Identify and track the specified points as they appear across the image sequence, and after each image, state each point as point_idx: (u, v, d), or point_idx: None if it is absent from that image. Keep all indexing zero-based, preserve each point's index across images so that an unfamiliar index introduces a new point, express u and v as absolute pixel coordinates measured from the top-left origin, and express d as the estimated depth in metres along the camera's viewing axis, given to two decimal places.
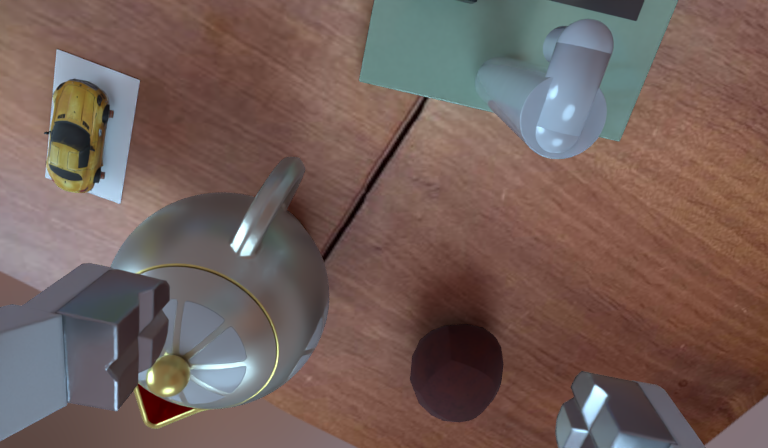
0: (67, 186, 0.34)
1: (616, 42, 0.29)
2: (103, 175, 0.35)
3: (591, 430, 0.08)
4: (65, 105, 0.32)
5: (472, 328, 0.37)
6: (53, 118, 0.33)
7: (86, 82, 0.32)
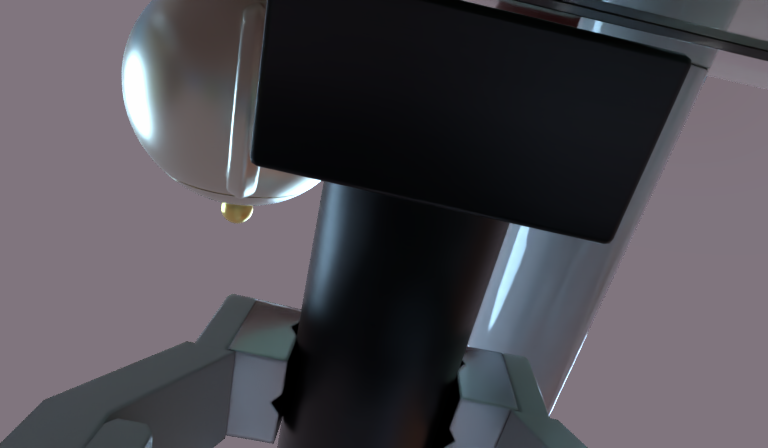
0: None
1: None
2: None
3: None
4: None
5: None
6: None
7: None
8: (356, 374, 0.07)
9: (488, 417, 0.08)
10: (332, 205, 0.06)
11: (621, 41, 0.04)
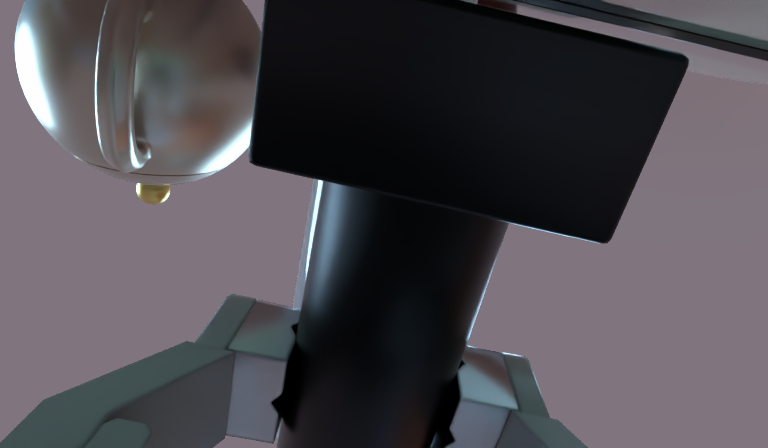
0: None
1: (765, 72, 0.08)
2: None
3: (447, 399, 0.08)
4: None
5: None
6: None
7: None
8: (355, 374, 0.07)
9: (488, 418, 0.08)
10: (331, 204, 0.06)
11: (618, 40, 0.04)
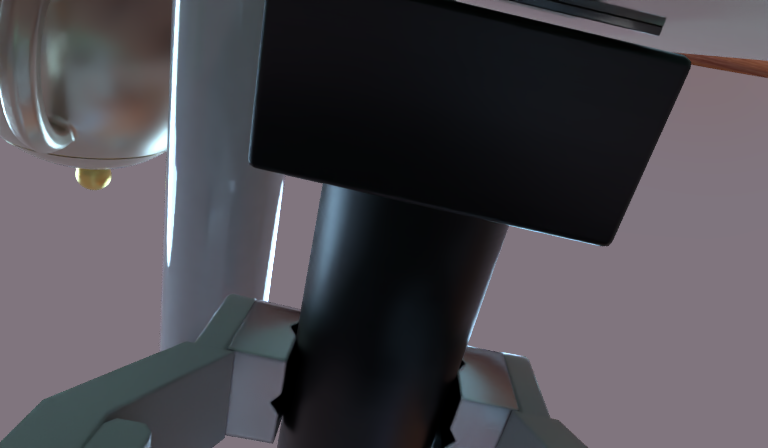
0: None
1: (539, 19, 0.08)
2: None
3: None
4: None
5: None
6: None
7: None
8: (355, 375, 0.07)
9: (488, 418, 0.08)
10: (331, 206, 0.06)
11: (620, 43, 0.04)
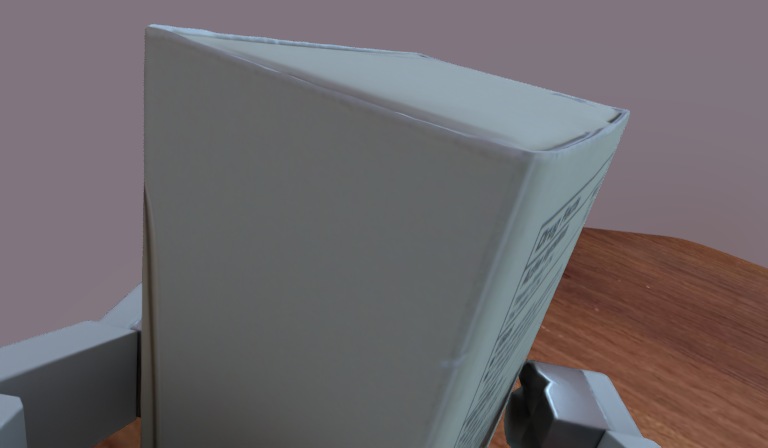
0: None
1: None
2: None
3: (532, 417, 0.08)
4: None
5: None
6: None
7: None
8: None
9: (579, 436, 0.08)
10: None
11: None
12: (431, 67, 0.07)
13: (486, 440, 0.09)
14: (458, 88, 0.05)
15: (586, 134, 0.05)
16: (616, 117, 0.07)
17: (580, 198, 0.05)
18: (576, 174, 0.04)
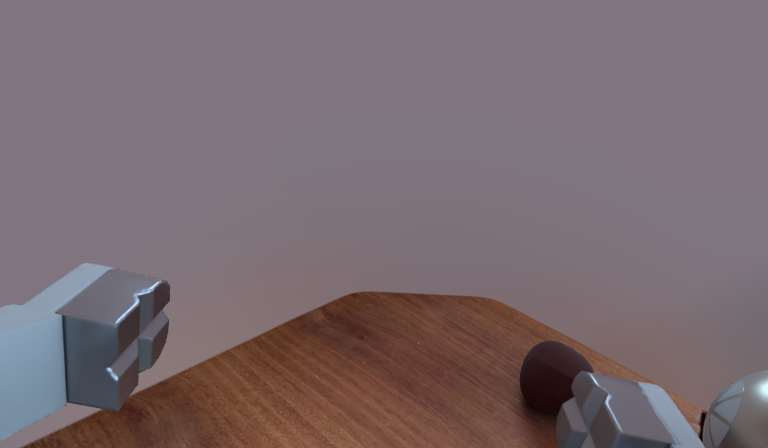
0: None
1: None
2: None
3: (591, 430, 0.08)
4: None
5: (553, 406, 0.43)
6: None
7: None
8: None
9: None
10: None
11: None
12: None
13: None
14: None
15: None
16: None
17: None
18: None
